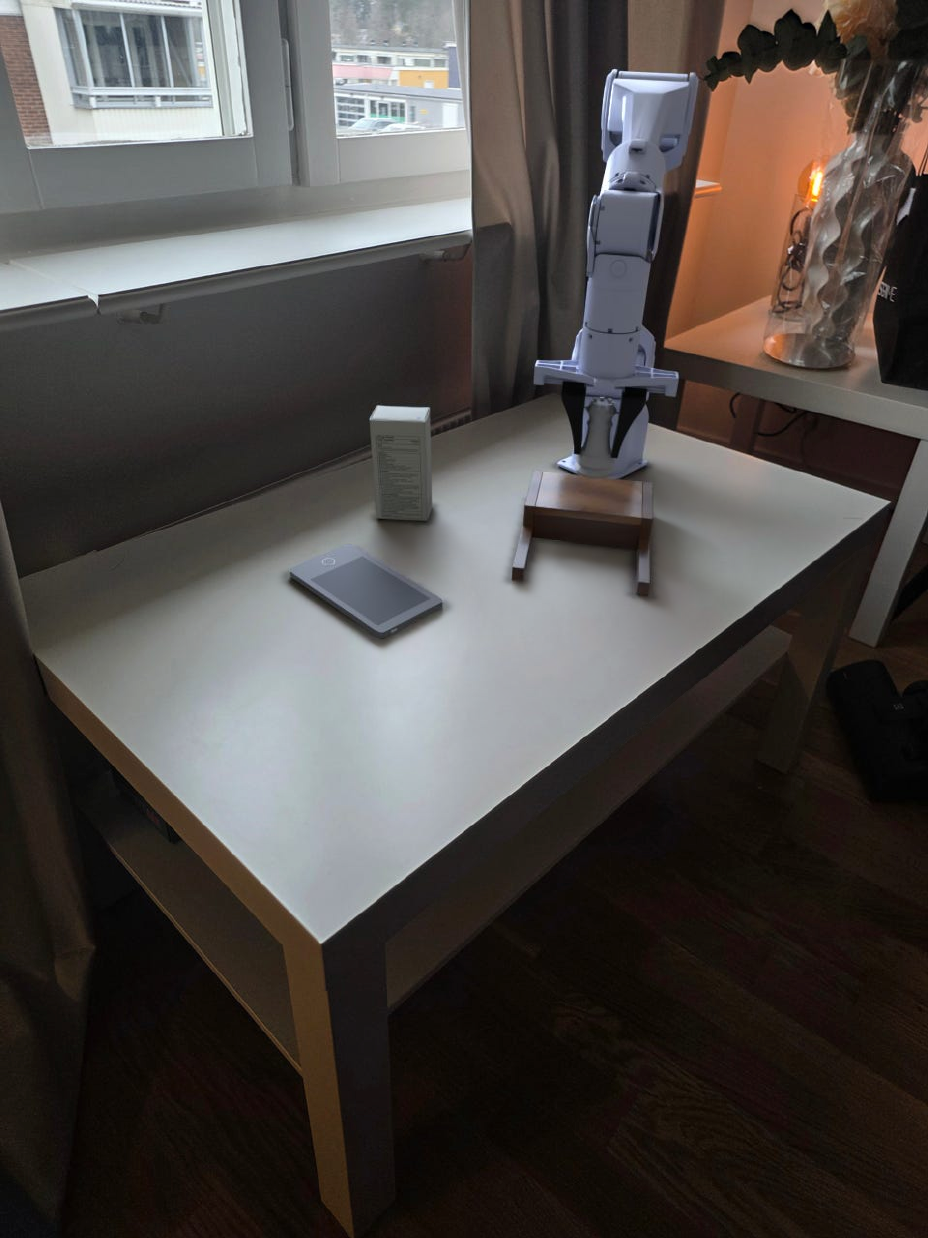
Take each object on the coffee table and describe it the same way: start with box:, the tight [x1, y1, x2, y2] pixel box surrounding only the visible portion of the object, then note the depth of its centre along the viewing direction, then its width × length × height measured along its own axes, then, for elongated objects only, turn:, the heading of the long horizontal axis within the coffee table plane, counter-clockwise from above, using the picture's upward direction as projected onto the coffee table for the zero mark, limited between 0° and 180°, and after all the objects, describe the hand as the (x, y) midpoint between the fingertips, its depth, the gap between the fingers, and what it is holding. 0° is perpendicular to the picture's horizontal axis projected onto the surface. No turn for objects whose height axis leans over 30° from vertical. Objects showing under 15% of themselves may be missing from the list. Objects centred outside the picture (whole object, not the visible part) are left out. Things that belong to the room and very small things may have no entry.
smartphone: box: [289, 543, 443, 639], centre depth 84 cm, size 15×8×1 cm, turn 44°
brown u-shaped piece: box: [511, 470, 654, 596], centre depth 92 cm, size 18×14×4 cm
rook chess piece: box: [574, 397, 617, 479], centre depth 90 cm, size 4×4×8 cm
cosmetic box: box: [369, 405, 433, 522], centre depth 95 cm, size 6×4×12 cm
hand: (595, 452), depth 91 cm, fingers closed on rook chess piece, 3 cm apart
